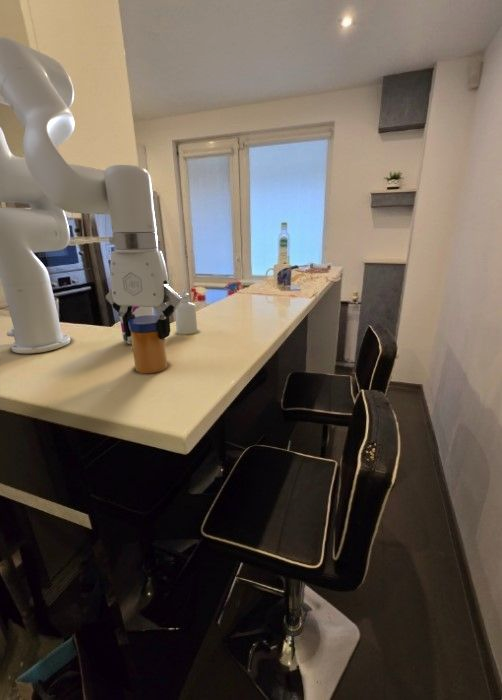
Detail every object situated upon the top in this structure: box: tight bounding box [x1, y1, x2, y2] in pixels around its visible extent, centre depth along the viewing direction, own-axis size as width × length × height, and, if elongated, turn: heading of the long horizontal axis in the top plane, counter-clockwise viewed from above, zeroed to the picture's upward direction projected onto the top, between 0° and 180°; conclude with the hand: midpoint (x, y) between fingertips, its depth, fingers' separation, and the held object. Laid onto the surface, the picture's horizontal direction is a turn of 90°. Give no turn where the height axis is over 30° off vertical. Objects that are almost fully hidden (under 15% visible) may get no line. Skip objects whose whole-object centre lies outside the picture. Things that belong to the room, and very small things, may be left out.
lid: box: [128, 314, 160, 332], centre depth 65 cm, size 7×7×2 cm
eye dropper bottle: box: [174, 288, 198, 335], centre depth 89 cm, size 4×6×12 cm
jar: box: [130, 330, 168, 374], centre depth 67 cm, size 6×6×10 cm
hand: (147, 335), depth 66 cm, fingers closed on lid, 6 cm apart
